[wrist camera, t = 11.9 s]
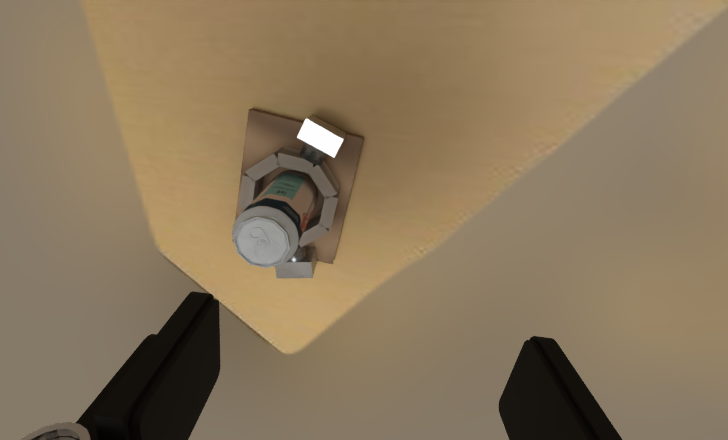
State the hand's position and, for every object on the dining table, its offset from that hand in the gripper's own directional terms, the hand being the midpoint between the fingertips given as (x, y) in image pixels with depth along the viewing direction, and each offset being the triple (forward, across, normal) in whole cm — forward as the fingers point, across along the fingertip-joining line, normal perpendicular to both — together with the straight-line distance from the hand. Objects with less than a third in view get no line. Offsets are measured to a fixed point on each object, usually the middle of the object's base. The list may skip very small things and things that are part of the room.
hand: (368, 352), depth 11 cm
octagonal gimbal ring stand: (+27, +7, +5) cm, 28 cm away
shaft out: (+25, +6, +11) cm, 28 cm away
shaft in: (+26, +5, -1) cm, 26 cm away
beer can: (+26, +7, +5) cm, 27 cm away
